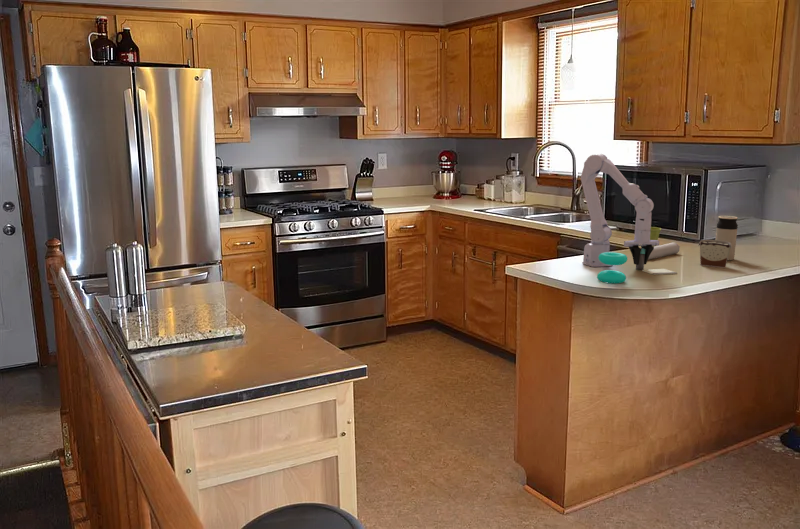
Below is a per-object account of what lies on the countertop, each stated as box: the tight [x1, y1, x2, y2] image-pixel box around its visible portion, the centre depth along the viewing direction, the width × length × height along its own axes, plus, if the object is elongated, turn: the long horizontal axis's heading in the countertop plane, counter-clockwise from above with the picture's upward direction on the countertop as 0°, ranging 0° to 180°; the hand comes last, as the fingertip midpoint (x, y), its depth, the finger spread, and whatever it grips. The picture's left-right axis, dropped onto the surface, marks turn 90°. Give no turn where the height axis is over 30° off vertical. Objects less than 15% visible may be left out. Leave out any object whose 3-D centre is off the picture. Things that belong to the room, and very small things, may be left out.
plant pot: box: [650, 226, 662, 247], centre depth 332 cm, size 9×9×9 cm
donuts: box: [596, 251, 628, 284], centre depth 257 cm, size 10×10×10 cm
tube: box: [648, 241, 681, 261], centre depth 307 cm, size 5×5×25 cm
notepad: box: [641, 268, 678, 276], centre depth 274 cm, size 10×8×1 cm
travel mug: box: [714, 215, 738, 261], centre depth 302 cm, size 8×8×18 cm
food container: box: [698, 239, 732, 269], centre depth 289 cm, size 12×6×10 cm, turn 59°
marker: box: [635, 249, 646, 271], centre depth 279 cm, size 3×3×8 cm
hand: (640, 264), depth 280 cm, fingers closed on marker, 3 cm apart
